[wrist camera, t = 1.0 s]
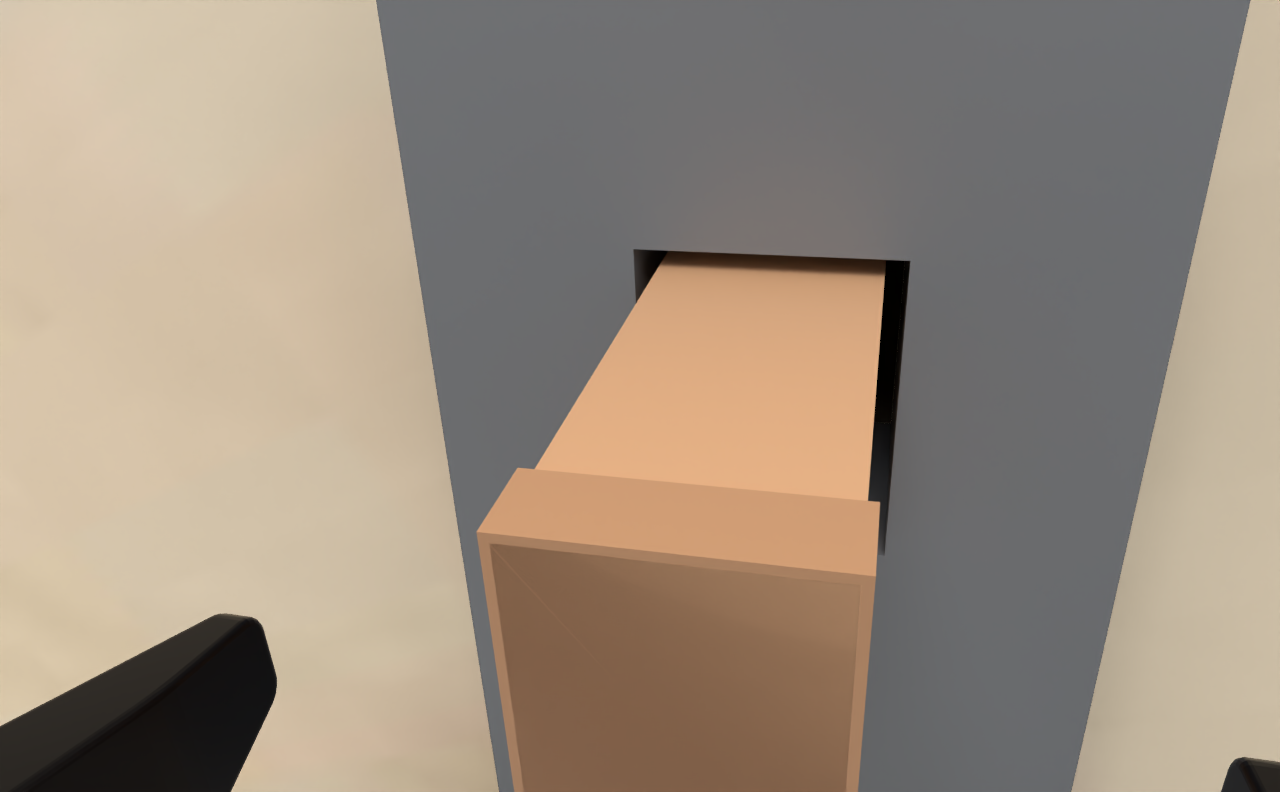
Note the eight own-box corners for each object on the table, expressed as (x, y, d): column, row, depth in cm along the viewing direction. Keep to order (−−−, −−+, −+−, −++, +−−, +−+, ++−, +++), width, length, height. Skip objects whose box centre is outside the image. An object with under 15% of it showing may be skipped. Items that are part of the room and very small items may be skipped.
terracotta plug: (879, 417, 18) (846, 930, 10) (703, 404, 19) (525, 869, 10) (897, 188, 16) (874, 576, 8) (700, 183, 17) (476, 531, 8)
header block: (976, 985, 25) (986, 1166, 22) (588, 909, 27) (541, 1061, 24) (1179, -92, 14) (1266, -70, 10) (486, -69, 16) (368, -45, 13)
